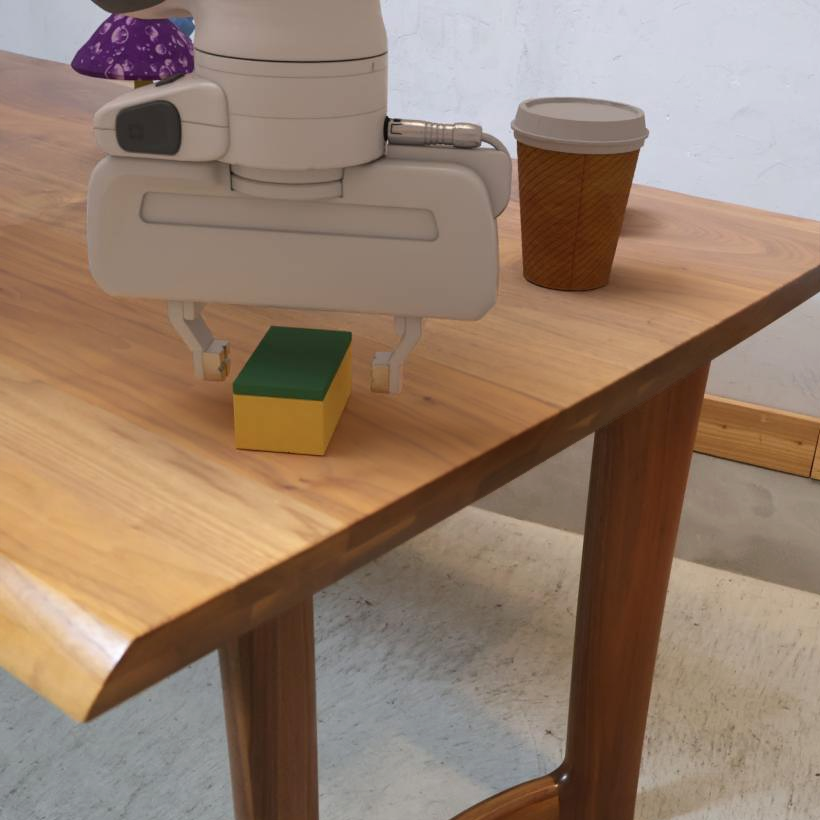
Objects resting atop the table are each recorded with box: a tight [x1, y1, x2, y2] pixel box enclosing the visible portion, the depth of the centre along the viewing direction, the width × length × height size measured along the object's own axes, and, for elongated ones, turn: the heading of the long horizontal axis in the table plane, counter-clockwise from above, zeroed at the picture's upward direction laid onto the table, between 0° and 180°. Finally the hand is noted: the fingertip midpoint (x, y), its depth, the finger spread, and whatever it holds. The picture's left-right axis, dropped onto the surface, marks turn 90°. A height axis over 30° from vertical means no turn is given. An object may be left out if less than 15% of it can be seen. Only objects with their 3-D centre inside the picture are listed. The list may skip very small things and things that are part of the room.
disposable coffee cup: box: [510, 96, 650, 291], centre depth 81 cm, size 10×10×12 cm
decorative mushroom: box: [70, 13, 195, 90], centre depth 106 cm, size 12×12×15 cm
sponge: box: [232, 325, 353, 456], centre depth 60 cm, size 4×8×4 cm, turn 174°
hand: (299, 383), depth 60 cm, fingers open, 8 cm apart
